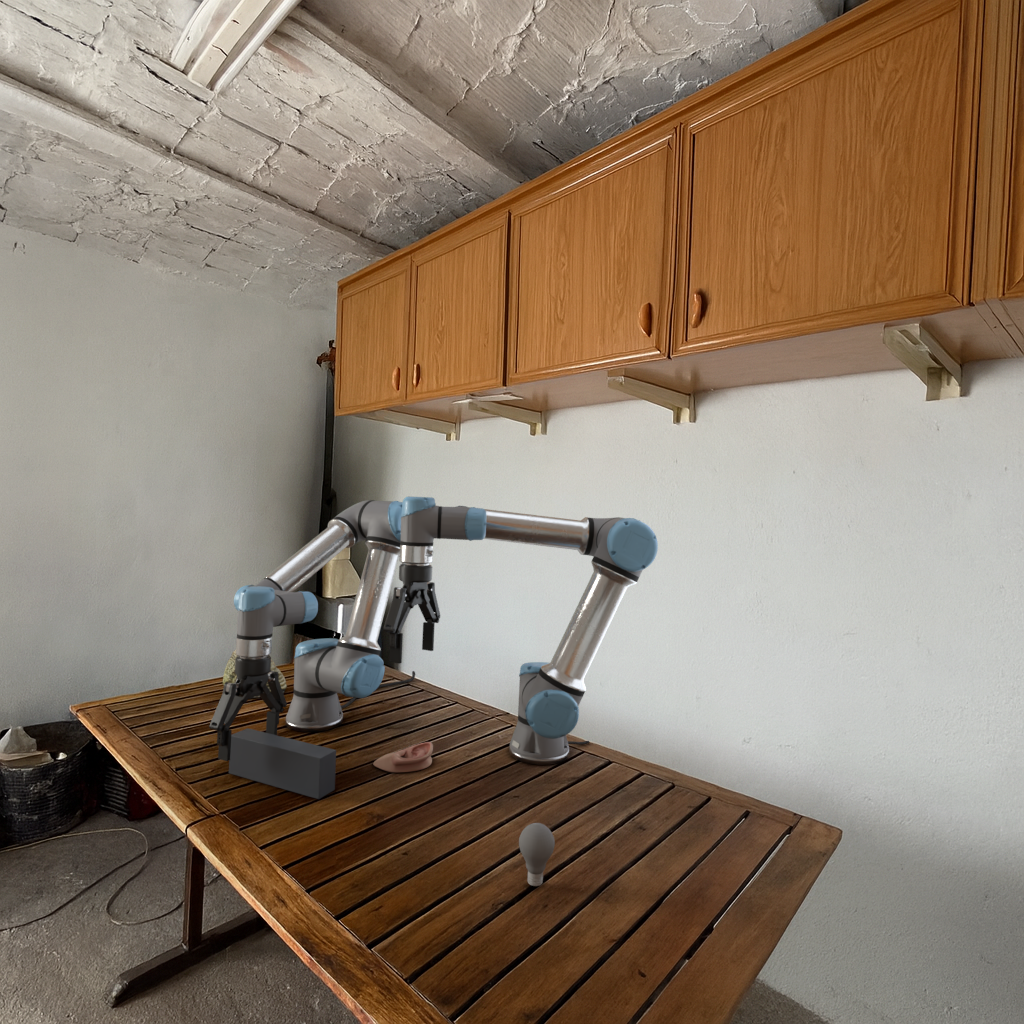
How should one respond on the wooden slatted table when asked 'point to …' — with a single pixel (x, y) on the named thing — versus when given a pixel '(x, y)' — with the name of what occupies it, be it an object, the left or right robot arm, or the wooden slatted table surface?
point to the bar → (283, 762)
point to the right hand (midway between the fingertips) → (412, 656)
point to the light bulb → (536, 850)
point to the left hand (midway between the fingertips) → (248, 749)
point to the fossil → (232, 677)
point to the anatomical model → (407, 759)
